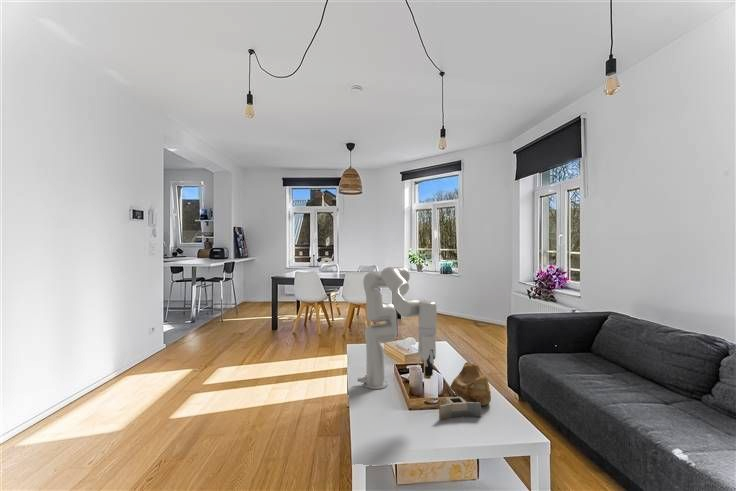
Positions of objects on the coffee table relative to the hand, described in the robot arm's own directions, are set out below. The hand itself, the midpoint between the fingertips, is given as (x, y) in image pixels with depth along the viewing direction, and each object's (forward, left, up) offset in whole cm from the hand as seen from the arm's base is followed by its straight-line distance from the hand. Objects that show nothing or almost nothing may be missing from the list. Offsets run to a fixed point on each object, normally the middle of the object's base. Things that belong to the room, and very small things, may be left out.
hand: (427, 373), depth 162 cm
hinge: (+14, +2, -19) cm, 24 cm away
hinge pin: (0, 0, -2) cm, 2 cm away
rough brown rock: (+27, +17, -19) cm, 37 cm away
